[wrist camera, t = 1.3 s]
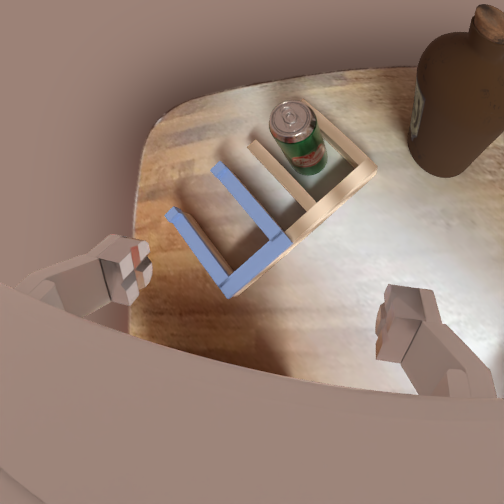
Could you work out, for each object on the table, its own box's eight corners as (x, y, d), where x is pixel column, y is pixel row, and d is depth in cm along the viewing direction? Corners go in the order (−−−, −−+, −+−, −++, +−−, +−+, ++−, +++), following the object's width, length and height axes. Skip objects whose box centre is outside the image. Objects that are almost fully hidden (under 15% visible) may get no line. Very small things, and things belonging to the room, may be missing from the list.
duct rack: (306, 109, 43) (303, 98, 40) (376, 174, 39) (377, 166, 36) (183, 222, 47) (172, 218, 44) (238, 296, 43) (229, 296, 40)
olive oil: (480, 129, 34) (547, 12, 11) (465, 195, 35) (560, 102, 11) (413, 101, 38) (433, -39, 14) (393, 163, 38) (418, 32, 15)
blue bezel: (225, 165, 42) (220, 160, 41) (293, 243, 39) (290, 241, 37) (171, 217, 44) (164, 215, 43) (229, 298, 40) (224, 299, 39)
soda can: (301, 183, 42) (279, 148, 31) (284, 153, 43) (258, 111, 32) (334, 166, 41) (324, 124, 29) (316, 136, 42) (300, 89, 30)
